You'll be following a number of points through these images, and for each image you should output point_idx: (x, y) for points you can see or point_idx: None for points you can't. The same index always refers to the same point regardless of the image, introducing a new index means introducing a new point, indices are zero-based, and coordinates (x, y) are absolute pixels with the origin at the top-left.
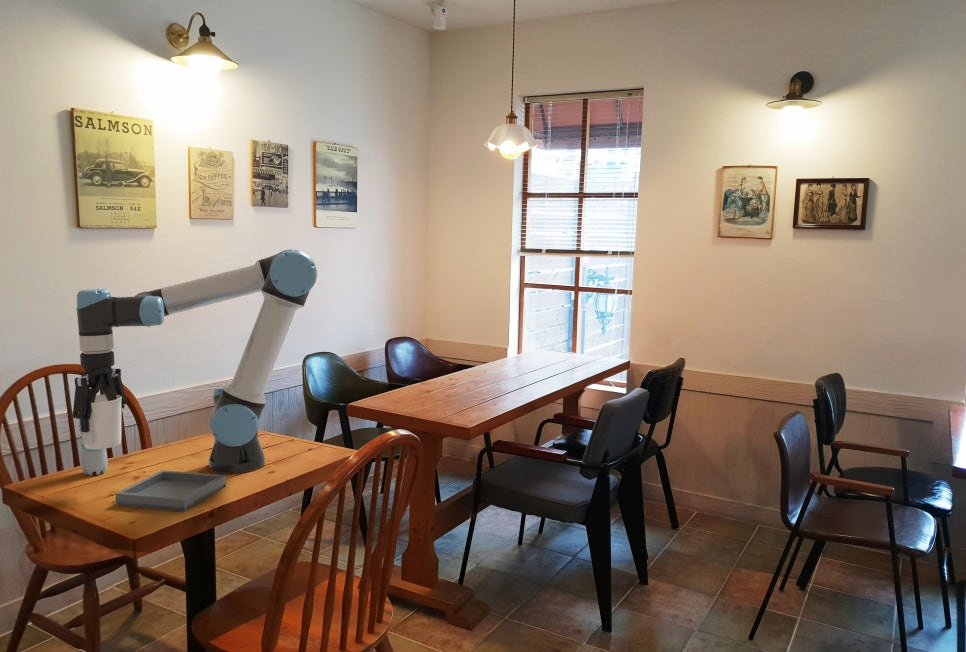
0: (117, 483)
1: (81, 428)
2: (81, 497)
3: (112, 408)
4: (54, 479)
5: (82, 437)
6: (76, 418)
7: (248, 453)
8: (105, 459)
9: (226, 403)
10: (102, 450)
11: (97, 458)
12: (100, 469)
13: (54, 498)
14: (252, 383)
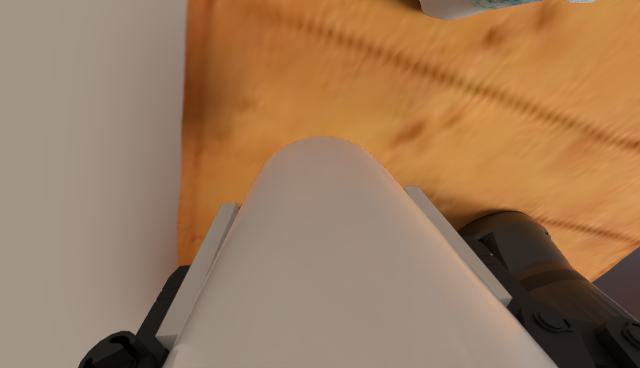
0: (364, 121)
1: (165, 291)
2: (256, 115)
3: None
4: None
5: (211, 226)
6: (104, 343)
7: None
8: (469, 15)
9: None
10: (485, 9)
11: (448, 5)
12: (431, 16)
13: (218, 50)
14: None
